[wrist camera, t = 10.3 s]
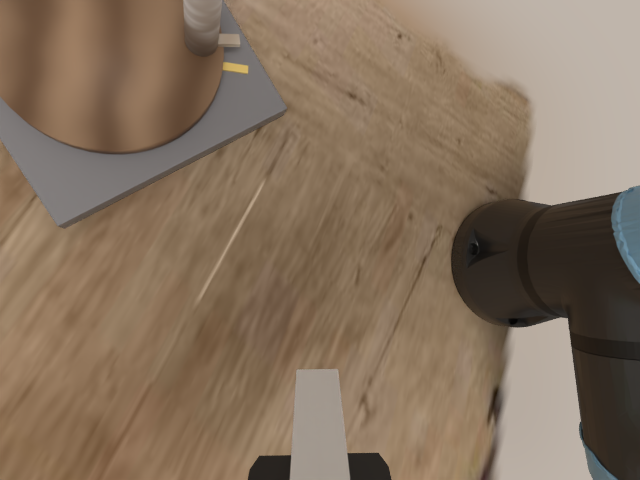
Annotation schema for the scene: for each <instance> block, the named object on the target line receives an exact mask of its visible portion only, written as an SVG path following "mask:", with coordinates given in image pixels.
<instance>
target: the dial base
mask: <svg viewBox="0 0 640 480" xmlns="http://www.w3.org/2000/svg"><path fill="white" fill-rule="evenodd" d="M220 27H221V32H222V34H239V37H240V47H224V60H223V70H222V76H221V81H220V85H219V88H218V91H217V93H216V96H215V98H214V100H213V102H212V104H211V106H210V107H209V109H208V111H207V112H206V113H205V114H204V116H203V117H202V118H201V119H200V121H199V122H198V123H196V124H195V125H194V126H193V127H192V128H191V129H190V130H189V131H187V132H186V133H185V134H183V135H182V136H180V137H179V138H177V139H175V140H173V141H171V142H169V143H168V144H166V145H163V146H160V147H157V148H155V149H152V150H147V151H143V152H138V153H130V154H102V153H95V152H89V151H85V150H81V149H77V148H73V147H71V146H68V145H65V144H63V143H60V142H58V141H56V140H54V139H52V138H50V137H48V136H46V135H44V134H42V133H41V132H40V131H38V130H37V129H35V128H34V127H32V126H31V125H29V124H28V123H27V122H26V121H25V120H23V119H22V118H21V117H20V116H19V115H18V114H17V113H16V112H14V111H13V110H12V109H11V108H10V107H9V106H8V105H7V104H6V103H5V101H4V100H3V99H2V98H1V97H0V139H1V141H2V142H3V144H4V145H5V147H6V148H7V150H8V151H9V153H10V154H11V156H12V157H13V159H14V160H15V162H16V164H17V165H18V167H19V168H20V170H21V171H22V173H23V174H24V176H25V177H26V179H27V180H28V182H29V183H30V185H31V186H32V188H33V189H34V191H35V192H36V194H37V195H38V197H39V199H40V200H41V202H42V203H43V205H44V206H45V208H46V209H47V211H48V212H49V214H50V215H51V217H52V218H53V220H54V221H55V223H56V224H57V226H59V227H61V228H64V229H65V228H66V227H68V226H70V225H72V224H74V223H76V222H78V221H80V220H82V219H84V218H86V217H88V216H90V215H92V214H94V213H95V212H97V211H99V210H101V209H103V208H105V207H107V206H109V205H111V204H113V203H115V202H117V201H119V200H121V199H122V198H124V197H126V196H128V195H130V194H132V193H134V192H136V191H138V190H140V189H142V188H144V187H146V186H148V185H150V184H151V183H153V182H155V181H157V180H159V179H161V178H163V177H165V176H167V175H169V174H171V173H173V172H175V171H177V170H179V169H180V168H182V167H184V166H186V165H188V164H190V163H192V162H194V161H196V160H198V159H200V158H202V157H204V156H206V155H208V154H209V153H211V152H213V151H215V150H217V149H219V148H221V147H223V146H225V145H227V144H229V143H231V142H233V141H235V140H237V139H238V138H240V137H242V136H244V135H246V134H248V133H250V132H252V131H254V130H256V129H258V128H260V127H262V126H264V125H266V124H267V123H269V122H271V121H273V120H275V119H277V118H279V117H281V116H283V115H284V113H285V111H286V110H287V107H286V105H285V104H284V102H283V100H282V98H281V97H280V95H279V93H278V92H277V90H276V88H275V87H274V85H273V83H272V82H271V80H270V78H269V77H268V75H267V73H266V71H265V70H264V68H263V66H262V65H261V63H260V61H259V60H258V58H257V56H256V55H255V53H254V51H253V50H252V48H251V46H250V44H249V43H248V41H247V39H246V38H245V36H244V34H243V33H242V31H241V29H240V28H239V26H238V24H237V23H236V21H235V19H234V17H233V16H232V14H231V12H230V11H229V9H228V7H227V6H226V4H225V2H224V1H223V0H222V9H221V19H220Z"/></svg>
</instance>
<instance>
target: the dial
mask: <svg viewBox="0 0 640 480" xmlns="http://www.w3.org/2000/svg"><path fill="white" fill-rule="evenodd" d="M221 9H222V0H0V97H1V98H2V99H3V100H4V101H5V103H6V104H7V105H8V106H9V107H10V108H11V109H12V110H13V111H14V112H16V113H17V114H18V115H19V116H20V117H21V118H22V119H23V120H25V121H26V122H27V123H28V124H29V125H31V126H32V127H34V128H35V129H37V130H38V131H40V132H41V133H42V134H44V135H46V136H48V137H50V138H52V139H54V140H56V141H58V142H60V143H63V144H65V145H68V146H71V147H73V148H77V149H81V150H85V151H89V152H95V153H102V154H130V153H138V152H143V151H147V150H152V149H155V148H157V147H160V146H163V145H166V144H168V143H169V142H171V141H173V140H175V139H177V138H179V137H180V136H182V135H183V134H185V133H186V132H187V131H189V130H190V129H191V128H192V127H193V126H194V125H195V124H196V123H198V122H199V121H200V119H201V118H202V117H203V116H204V114H205V113H206V112H207V111H208V109H209V107H210V106H211V104H212V102H213V100H214V98H215V96H216V93H217V91H218V88H219V85H220V81H221V76H222V70H223V60H224V47H240V37H239V34H222V32H221V27H220V19H221Z"/></svg>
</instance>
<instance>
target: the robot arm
mask: <svg viewBox="0 0 640 480" xmlns="http://www.w3.org/2000/svg"><path fill="white" fill-rule="evenodd" d="M452 270H453V276H454V280H455V283H456V286H457V289H458V291H459V293H460V295H461V297H462V299H463V300H464V302H465V303H466V304H467V306H468V307H469V308H470V309H471V310H472V311H473V312H474V313H475V314H476V315H478V316H479V317H480V318H482V319H484V320H486V321H488V322H490V323H493V324H497V325H502V326H508V327H528V326H532V325H535V324H539V323H542V322H546V321H549V320H553V319H556V318H559V317H563V318H568V323H569V330H570V338H571V346H572V354H573V362H574V370H575V378H576V385H577V393H578V401H579V409H580V416H581V422H580V425H579V431H580V432H579V433H580V438H581V440H582V443H583V446H584V448H585V453H586V458H587V464H588V469H589V472H590V474H591V476H592V478H593V480H640V186H636V187H632V188H629V189H628V190H626V191H623V192H619V193H614V194H609V195H605V196H599V197H594V198H589V199H584V200H578V201H572V202H567V203H562V204H557V205H552V206H551V205H546V204H540V203H535V202H528V201H525V200H519V199H507V200H501V201H497V202H493V203H489V204H486V205H483V206H481V207H479V208H478V209H476V210H475V211H474V212H472V213H471V214H470V215H469V216H468V217H467V218H466V220H465V221H464V222H463V224H462V225H461V227H460V229H459V231H458V233H457V235H456V238H455V241H454V245H453V251H452ZM248 480H391V476H390V471H389V467H388V465H387V464H386V462H385V461H384V460H383V458H382V457H381V456H380V454H379V453H347V446H346V437H345V428H344V419H343V410H342V401H341V391H340V382H339V373H338V369H297V371H296V388H295V404H294V420H293V436H292V453H291V455H285V456H259V457H258V458H257V460H256V461H255V463H254V464H253V466H252V467H251V469H250V471H249V477H248Z"/></svg>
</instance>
